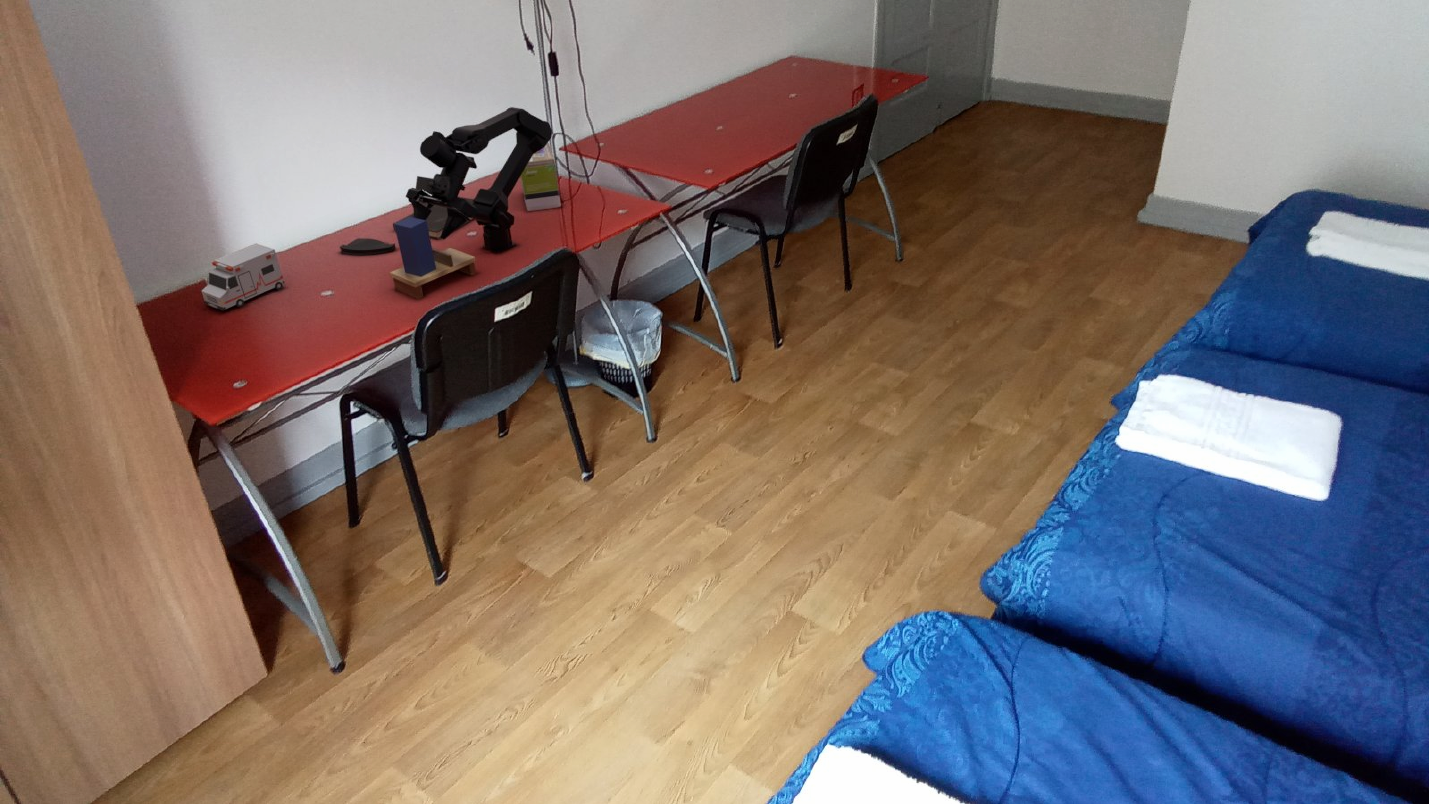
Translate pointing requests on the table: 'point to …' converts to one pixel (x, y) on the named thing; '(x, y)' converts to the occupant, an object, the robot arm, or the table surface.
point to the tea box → (541, 181)
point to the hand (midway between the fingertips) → (428, 235)
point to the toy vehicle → (242, 276)
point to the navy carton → (415, 246)
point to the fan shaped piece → (366, 247)
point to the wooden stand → (444, 265)
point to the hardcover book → (437, 220)
